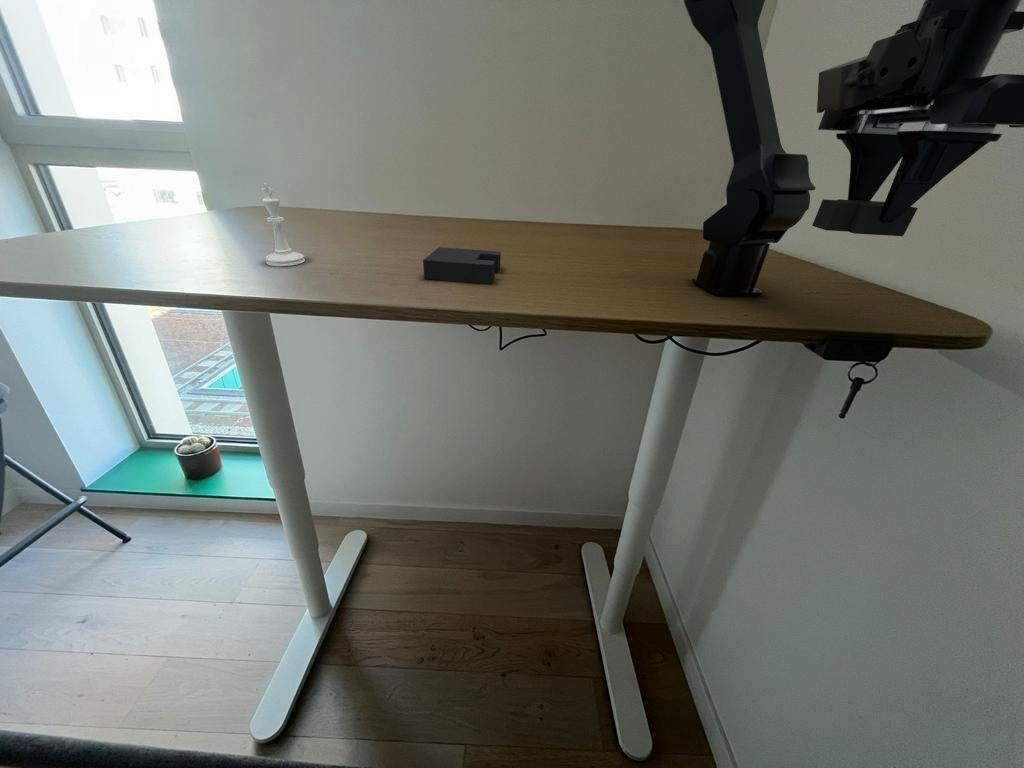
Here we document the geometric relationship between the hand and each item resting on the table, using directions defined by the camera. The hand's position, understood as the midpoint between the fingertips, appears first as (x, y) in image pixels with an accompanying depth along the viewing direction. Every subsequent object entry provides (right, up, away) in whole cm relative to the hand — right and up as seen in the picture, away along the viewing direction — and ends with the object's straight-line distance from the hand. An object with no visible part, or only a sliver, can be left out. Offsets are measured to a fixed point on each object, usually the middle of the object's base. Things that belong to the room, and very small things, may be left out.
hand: (868, 217), depth 39 cm
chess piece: (-67, +1, +18) cm, 69 cm away
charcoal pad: (-42, -1, +16) cm, 45 cm away
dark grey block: (0, -1, +1) cm, 1 cm away
